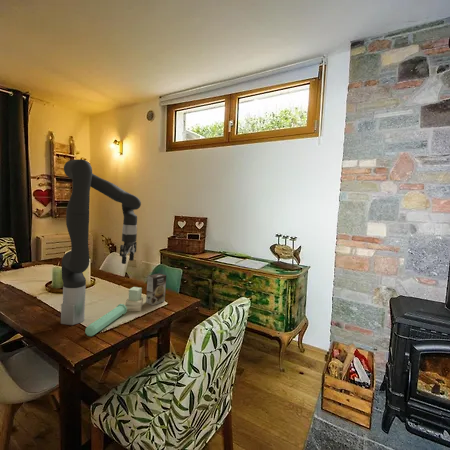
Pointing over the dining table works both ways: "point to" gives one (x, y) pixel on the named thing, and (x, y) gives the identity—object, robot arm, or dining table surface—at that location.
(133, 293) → the sage block
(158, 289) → the coffee box
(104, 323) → the container
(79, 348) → the dining table surface
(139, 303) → the birch base
